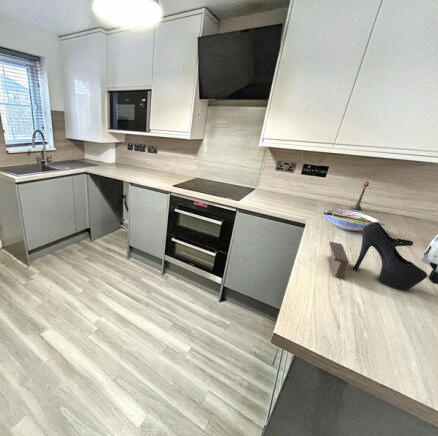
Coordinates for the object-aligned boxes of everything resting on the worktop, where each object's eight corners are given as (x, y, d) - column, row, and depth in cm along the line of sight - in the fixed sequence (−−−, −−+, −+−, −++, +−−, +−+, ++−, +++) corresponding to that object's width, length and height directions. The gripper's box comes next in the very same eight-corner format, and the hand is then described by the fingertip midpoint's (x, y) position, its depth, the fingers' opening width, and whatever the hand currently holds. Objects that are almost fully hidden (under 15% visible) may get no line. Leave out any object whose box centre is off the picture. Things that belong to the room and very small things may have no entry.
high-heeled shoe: (415, 298, 75) (447, 242, 68) (344, 269, 90) (364, 221, 82) (419, 289, 80) (449, 236, 73) (350, 263, 94) (370, 217, 87)
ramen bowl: (371, 227, 133) (377, 214, 130) (380, 242, 115) (387, 226, 112) (318, 217, 145) (322, 204, 142) (319, 228, 127) (324, 214, 124)
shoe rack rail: (335, 259, 97) (341, 244, 94) (341, 278, 84) (349, 261, 81) (324, 256, 99) (329, 241, 96) (328, 274, 86) (334, 258, 83)
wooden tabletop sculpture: (361, 211, 162) (373, 182, 155) (352, 209, 164) (364, 181, 157) (359, 209, 167) (370, 181, 159) (351, 207, 169) (362, 180, 162)
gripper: (436, 229, 71) (407, 279, 78) (513, 244, 64) (474, 297, 71) (425, 222, 77) (399, 269, 84) (495, 234, 70) (460, 284, 77)
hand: (434, 281), depth 78 cm, fingers closed
